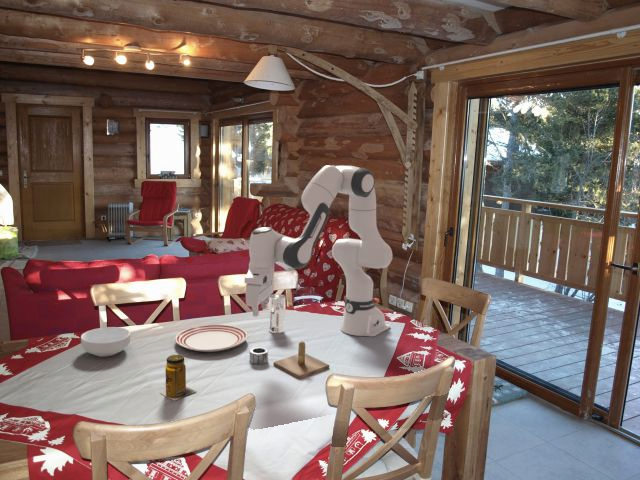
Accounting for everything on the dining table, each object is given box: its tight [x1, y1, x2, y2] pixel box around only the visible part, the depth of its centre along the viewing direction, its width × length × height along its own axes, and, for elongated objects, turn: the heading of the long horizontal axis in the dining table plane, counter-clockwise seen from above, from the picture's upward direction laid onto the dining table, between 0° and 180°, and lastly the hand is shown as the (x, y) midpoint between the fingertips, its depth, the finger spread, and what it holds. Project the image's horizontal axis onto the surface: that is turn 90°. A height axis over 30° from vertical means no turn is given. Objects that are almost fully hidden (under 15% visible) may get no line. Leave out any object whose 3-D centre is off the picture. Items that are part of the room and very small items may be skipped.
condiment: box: [160, 354, 197, 402], centre depth 168 cm, size 7×8×12 cm
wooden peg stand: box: [272, 341, 330, 380], centre depth 190 cm, size 14×14×9 cm
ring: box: [249, 346, 269, 366], centre depth 194 cm, size 6×6×4 cm
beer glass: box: [268, 293, 286, 334], centre depth 224 cm, size 7×7×15 cm
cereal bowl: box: [80, 326, 131, 358], centre depth 196 cm, size 17×17×7 cm
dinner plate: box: [174, 323, 248, 353], centre depth 209 cm, size 27×27×3 cm
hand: (260, 311), depth 191 cm, fingers open, 8 cm apart
